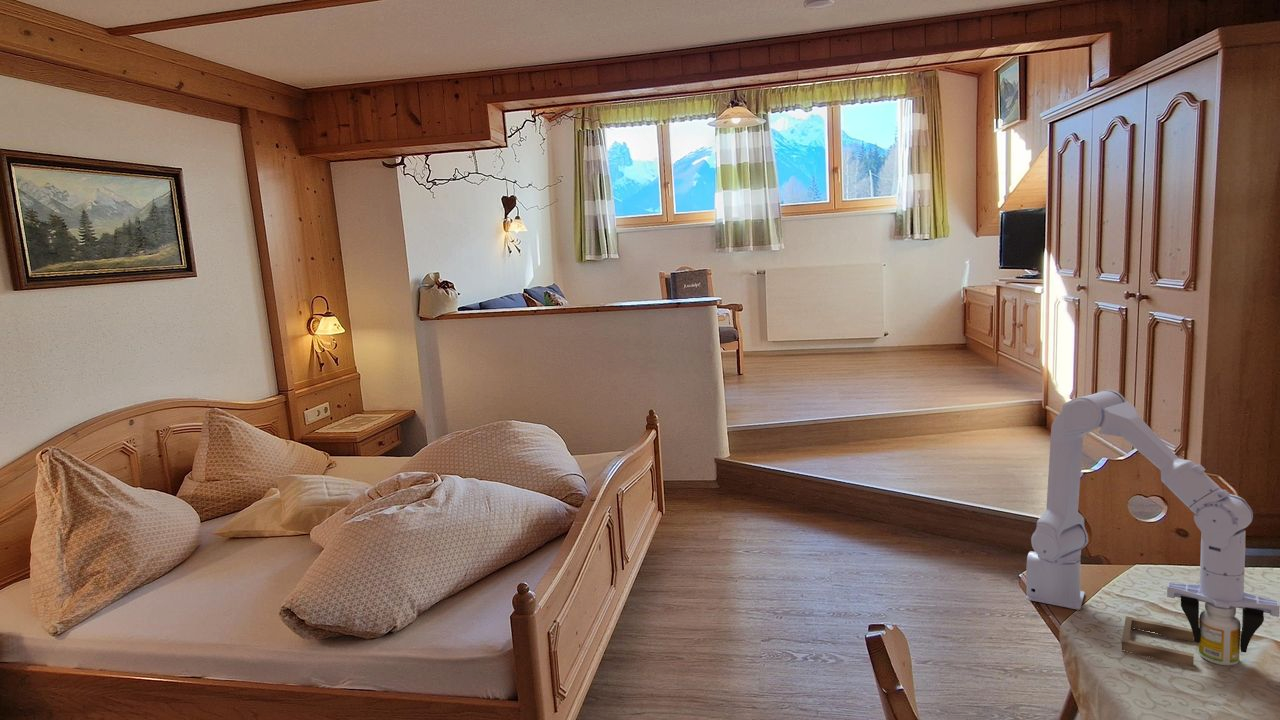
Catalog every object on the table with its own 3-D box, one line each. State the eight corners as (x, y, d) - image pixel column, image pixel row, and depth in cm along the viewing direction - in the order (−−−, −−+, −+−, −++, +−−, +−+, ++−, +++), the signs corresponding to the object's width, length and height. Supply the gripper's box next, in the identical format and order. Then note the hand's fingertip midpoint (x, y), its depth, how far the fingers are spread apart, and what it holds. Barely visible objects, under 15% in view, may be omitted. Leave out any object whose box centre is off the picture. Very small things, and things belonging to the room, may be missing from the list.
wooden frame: (1121, 650, 125) (1121, 641, 125) (1125, 625, 133) (1125, 616, 133) (1193, 666, 119) (1193, 656, 119) (1193, 638, 127) (1193, 629, 127)
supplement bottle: (1229, 650, 123) (1232, 597, 122) (1245, 668, 118) (1248, 612, 117) (1192, 647, 125) (1194, 595, 123) (1206, 664, 120) (1208, 610, 118)
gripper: (1167, 569, 120) (1165, 644, 122) (1282, 587, 111) (1279, 668, 113) (1168, 553, 126) (1166, 625, 128) (1278, 570, 117) (1275, 647, 119)
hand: (1219, 644), depth 121 cm, fingers open, 5 cm apart
